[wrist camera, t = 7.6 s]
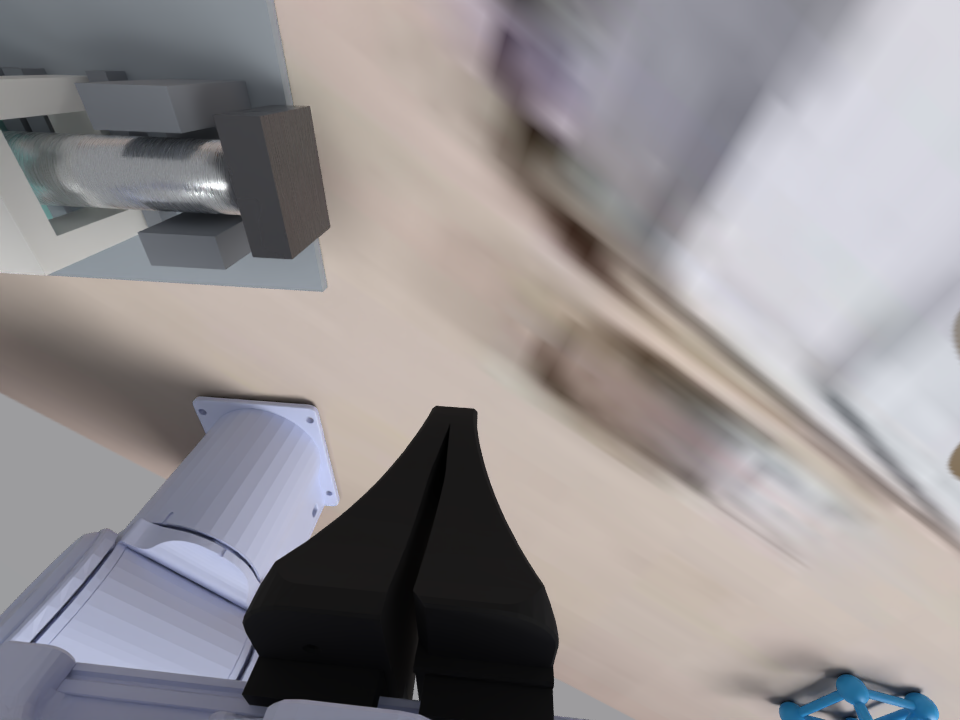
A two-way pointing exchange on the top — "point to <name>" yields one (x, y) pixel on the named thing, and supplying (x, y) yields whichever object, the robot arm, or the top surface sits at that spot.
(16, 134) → the shaft
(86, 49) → the jig
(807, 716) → the molecular structure
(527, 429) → the top surface
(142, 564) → the robot arm
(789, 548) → the top surface
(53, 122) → the spacer
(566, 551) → the top surface
